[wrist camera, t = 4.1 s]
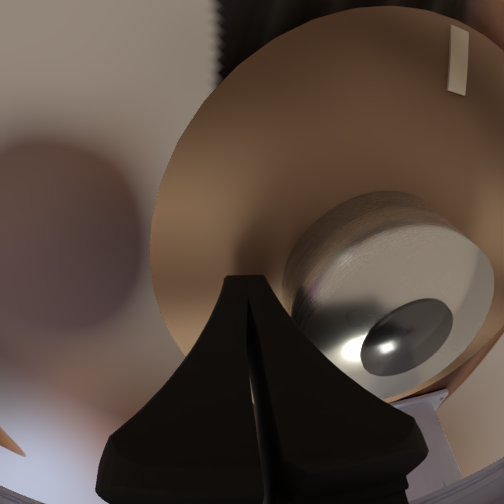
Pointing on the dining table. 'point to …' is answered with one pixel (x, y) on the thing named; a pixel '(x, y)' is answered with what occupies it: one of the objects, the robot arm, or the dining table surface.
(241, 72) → the turntable
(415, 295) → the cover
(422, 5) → the dining table surface
